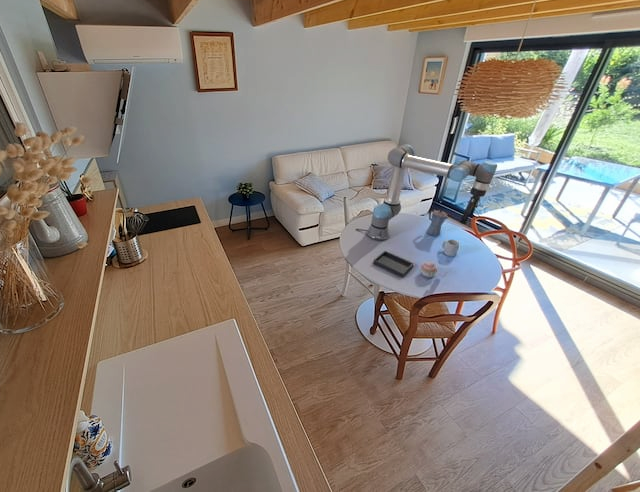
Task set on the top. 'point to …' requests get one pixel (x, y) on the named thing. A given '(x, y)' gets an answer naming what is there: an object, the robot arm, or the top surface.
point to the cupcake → (428, 269)
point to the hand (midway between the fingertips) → (465, 219)
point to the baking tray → (393, 263)
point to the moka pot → (436, 222)
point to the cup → (450, 247)
